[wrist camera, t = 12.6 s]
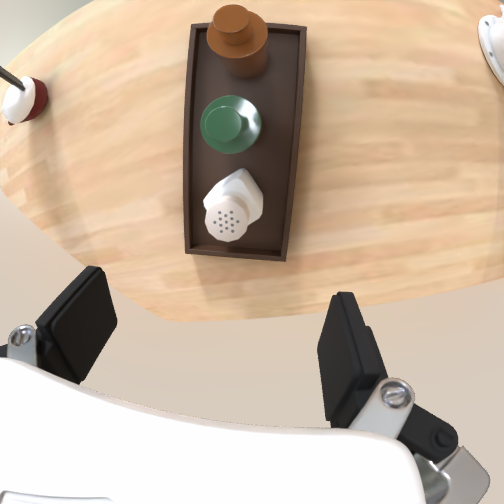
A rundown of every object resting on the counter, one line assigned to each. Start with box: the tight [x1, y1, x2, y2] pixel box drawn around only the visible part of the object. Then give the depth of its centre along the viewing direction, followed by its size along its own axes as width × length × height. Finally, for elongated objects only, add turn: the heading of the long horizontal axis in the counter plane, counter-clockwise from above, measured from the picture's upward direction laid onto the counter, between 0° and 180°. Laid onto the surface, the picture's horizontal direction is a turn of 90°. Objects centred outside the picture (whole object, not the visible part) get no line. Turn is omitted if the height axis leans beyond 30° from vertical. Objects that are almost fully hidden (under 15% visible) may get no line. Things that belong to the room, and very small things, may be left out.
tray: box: [183, 23, 307, 262], centre depth 25 cm, size 25×11×2 cm, turn 176°
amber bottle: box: [207, 5, 268, 79], centre depth 17 cm, size 4×4×12 cm
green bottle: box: [200, 95, 263, 154], centre depth 20 cm, size 4×4×12 cm
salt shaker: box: [203, 168, 263, 242], centre depth 24 cm, size 4×4×10 cm
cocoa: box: [0, 66, 47, 125], centre depth 18 cm, size 10×6×12 cm, turn 99°
